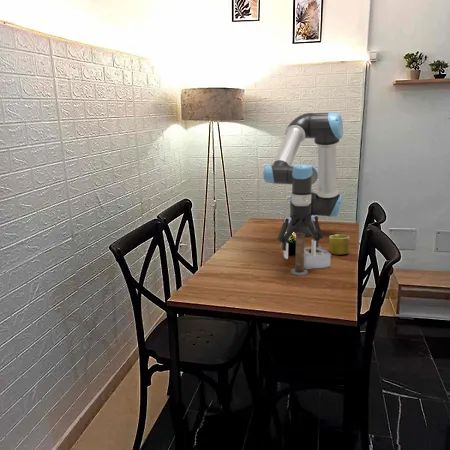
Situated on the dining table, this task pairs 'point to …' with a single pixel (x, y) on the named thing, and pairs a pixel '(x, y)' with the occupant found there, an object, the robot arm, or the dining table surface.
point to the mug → (339, 244)
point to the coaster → (298, 272)
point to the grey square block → (316, 258)
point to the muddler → (299, 252)
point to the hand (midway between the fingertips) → (299, 256)
